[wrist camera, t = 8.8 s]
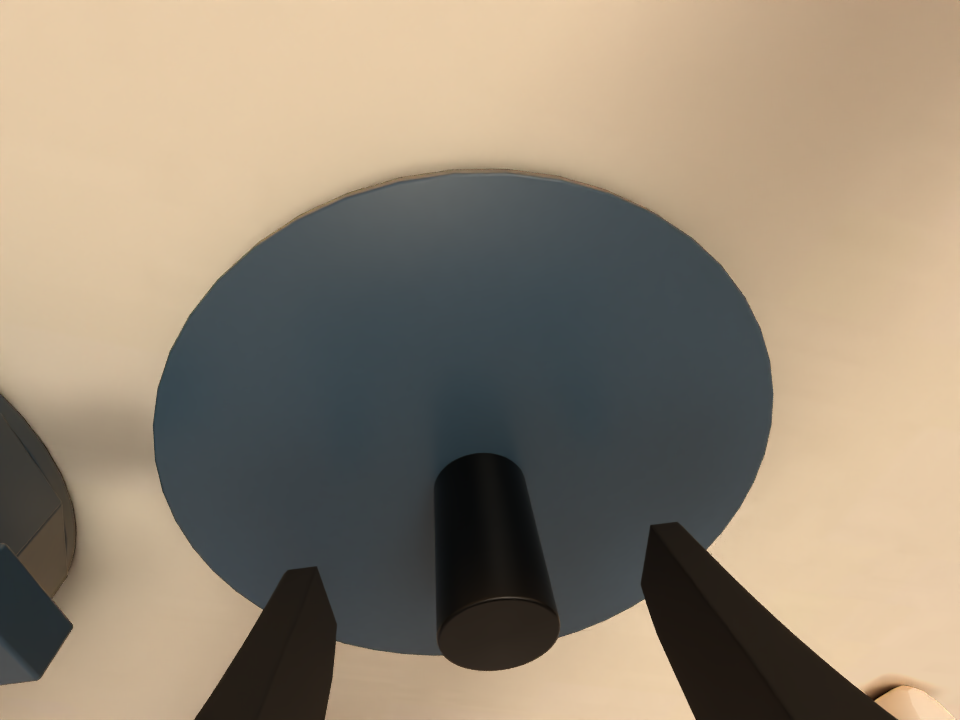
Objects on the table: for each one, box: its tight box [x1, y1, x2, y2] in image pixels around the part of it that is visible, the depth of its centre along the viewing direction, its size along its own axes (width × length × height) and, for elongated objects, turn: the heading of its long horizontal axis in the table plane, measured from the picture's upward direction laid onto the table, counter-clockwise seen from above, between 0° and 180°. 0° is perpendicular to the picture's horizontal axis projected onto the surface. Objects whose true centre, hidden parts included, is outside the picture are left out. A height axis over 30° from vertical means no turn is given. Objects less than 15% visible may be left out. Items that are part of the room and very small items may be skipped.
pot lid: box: [153, 169, 773, 671], centre depth 12 cm, size 16×16×5 cm
